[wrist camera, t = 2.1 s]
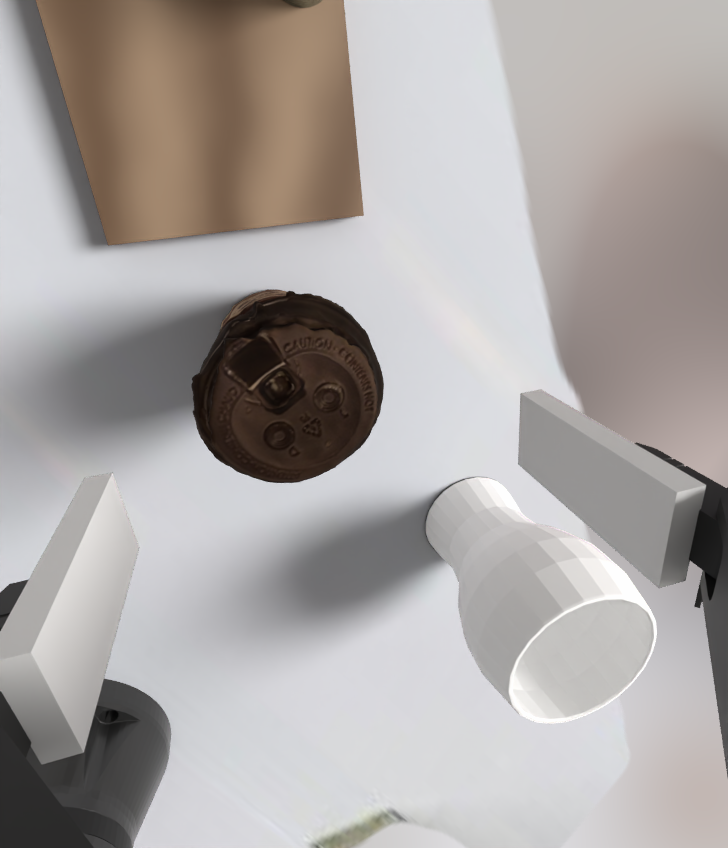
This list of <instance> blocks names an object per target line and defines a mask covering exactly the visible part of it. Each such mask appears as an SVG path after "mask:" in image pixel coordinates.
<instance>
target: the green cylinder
mask: <svg viewBox="0 0 728 848" xmlns="http://www.w3.org/2000/svg"><path fill="white" fill-rule="evenodd" d="M283 1H285V2H286V3H288V4H290V5H292V6H295V7H299V8H307V7H312V6H315V5H317V4H319V3H320V2H321V1H323V0H283Z"/></svg>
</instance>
